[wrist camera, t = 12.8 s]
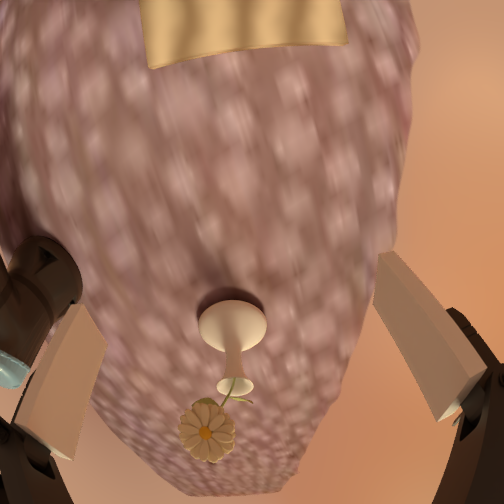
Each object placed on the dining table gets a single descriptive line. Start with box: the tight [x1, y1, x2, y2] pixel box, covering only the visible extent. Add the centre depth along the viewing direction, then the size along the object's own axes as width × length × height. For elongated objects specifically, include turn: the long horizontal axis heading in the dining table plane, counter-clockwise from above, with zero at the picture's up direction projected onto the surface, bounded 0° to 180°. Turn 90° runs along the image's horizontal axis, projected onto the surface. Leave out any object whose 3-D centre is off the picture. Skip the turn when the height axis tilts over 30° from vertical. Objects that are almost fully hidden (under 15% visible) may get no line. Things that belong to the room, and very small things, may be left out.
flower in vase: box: [178, 300, 267, 463], centre depth 36 cm, size 13×11×25 cm
